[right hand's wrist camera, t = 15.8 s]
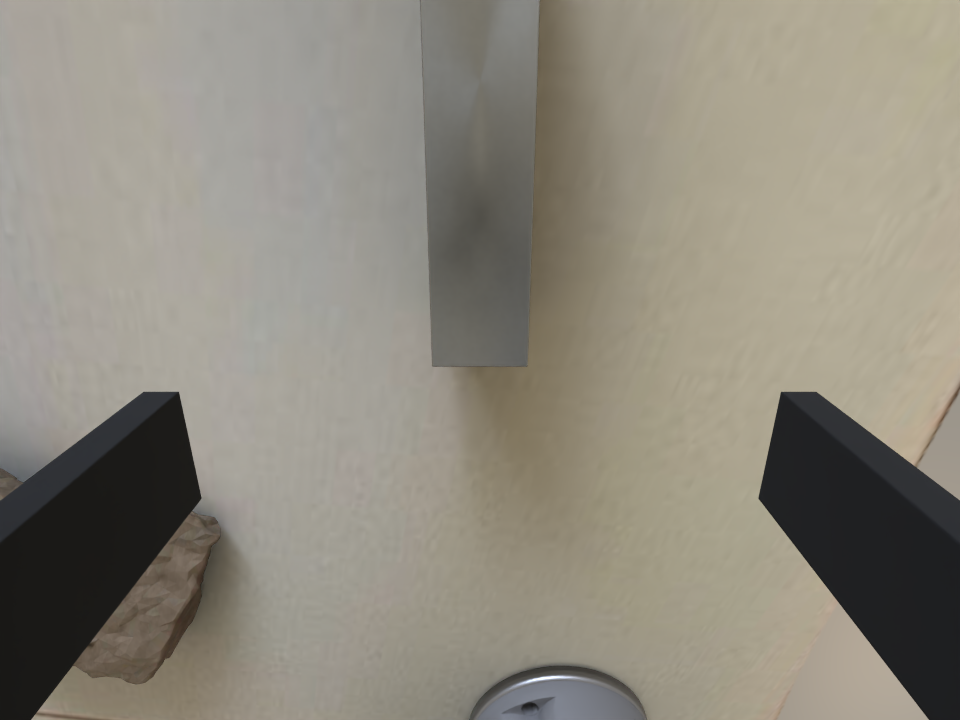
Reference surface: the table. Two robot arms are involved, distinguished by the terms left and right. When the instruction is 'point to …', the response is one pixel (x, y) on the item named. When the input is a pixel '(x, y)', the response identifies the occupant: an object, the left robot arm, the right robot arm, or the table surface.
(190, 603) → the stone
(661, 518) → the table surface
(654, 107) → the table surface
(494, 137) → the bar
